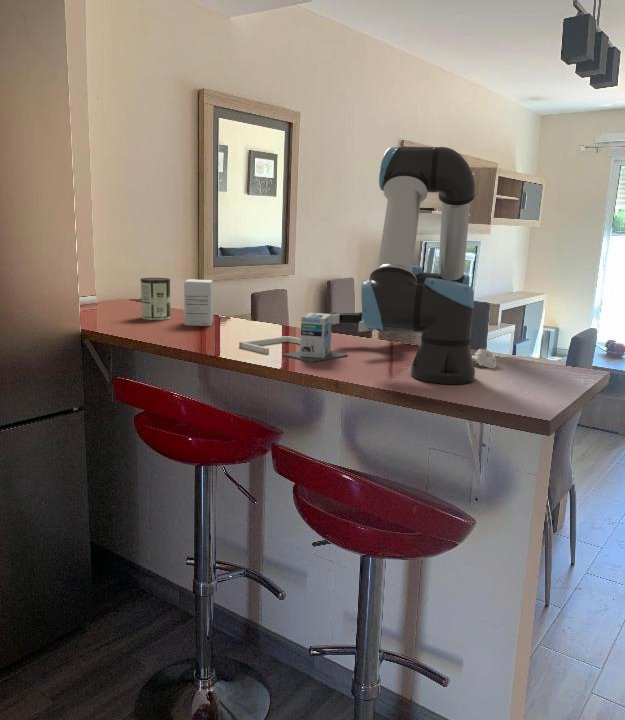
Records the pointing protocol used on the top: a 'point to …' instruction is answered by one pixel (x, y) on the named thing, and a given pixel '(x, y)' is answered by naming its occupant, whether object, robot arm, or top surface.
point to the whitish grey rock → (484, 358)
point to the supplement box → (198, 302)
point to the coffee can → (155, 298)
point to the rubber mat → (311, 359)
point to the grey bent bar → (255, 343)
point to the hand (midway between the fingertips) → (340, 323)
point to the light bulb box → (315, 335)
